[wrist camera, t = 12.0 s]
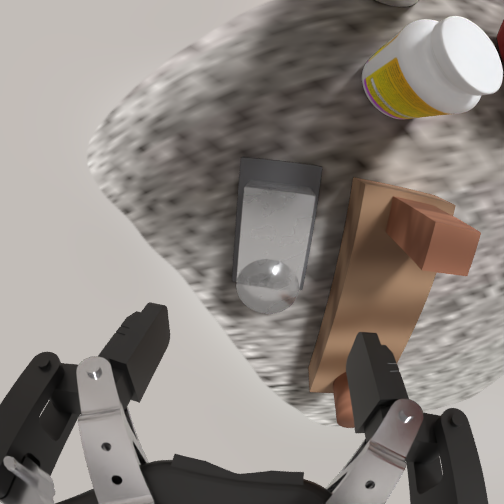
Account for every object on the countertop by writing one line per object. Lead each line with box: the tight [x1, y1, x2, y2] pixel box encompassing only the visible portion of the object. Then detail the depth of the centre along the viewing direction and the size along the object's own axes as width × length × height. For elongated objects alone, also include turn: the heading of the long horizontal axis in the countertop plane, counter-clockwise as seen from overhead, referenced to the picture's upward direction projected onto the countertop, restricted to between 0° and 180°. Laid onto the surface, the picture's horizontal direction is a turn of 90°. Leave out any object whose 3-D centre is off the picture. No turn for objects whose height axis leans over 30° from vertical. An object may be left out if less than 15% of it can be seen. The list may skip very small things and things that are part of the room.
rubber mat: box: [232, 157, 322, 290], centre depth 25 cm, size 12×7×1 cm, turn 175°
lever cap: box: [236, 180, 315, 314], centre depth 24 cm, size 11×5×4 cm, turn 175°
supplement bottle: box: [362, 16, 503, 119], centre depth 13 cm, size 7×7×13 cm
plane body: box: [308, 177, 481, 428], centre depth 22 cm, size 23×9×11 cm, turn 175°
